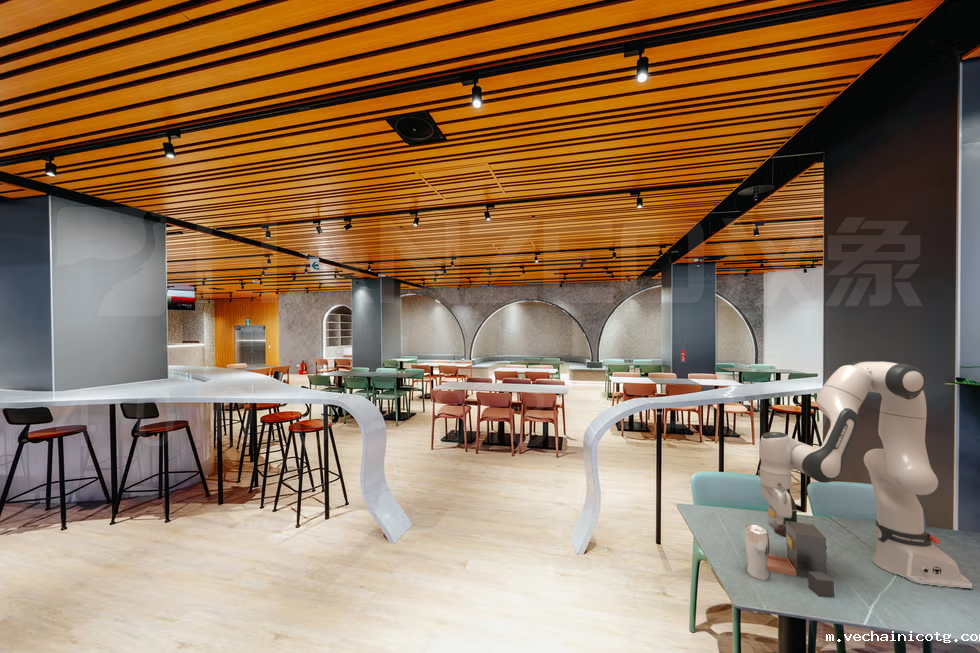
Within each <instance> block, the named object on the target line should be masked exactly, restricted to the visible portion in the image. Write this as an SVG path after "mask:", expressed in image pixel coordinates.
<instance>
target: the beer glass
mask: <svg viewBox="0 0 980 653" xmlns="http://www.w3.org/2000/svg"><path fill="white" fill-rule="evenodd" d="M769 536H770V535H769V530H768V529H767V528H765V527H763V526H760V525H756V524H746V525H745V526H744V536H743V537H744V546H745V548H744V549H745V551H746V552H745V553H746V557H747V567H746V572H747V574H748V575H749V576H750V577H752V578H754V579H757V580H760V581H767V580H769V578H770V575H769V571H768V570H767V562H768V556H769V555H770V545H771V544H770V537H769Z"/></svg>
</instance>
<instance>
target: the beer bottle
mask: <svg viewBox="0 0 980 653" xmlns="http://www.w3.org/2000/svg"><path fill="white" fill-rule="evenodd" d="M790 489H791V488H790ZM790 489H787V492H788V493H789V495H790V498H791V506H792V517H791V518H785V517H784V529H783V530H779V529H775V528H773V529H774V532H775V534H777V535H779V536H781V537H783V538H786V521H792V522H798V517H797V515H798V514H797V512H798V511H797V504H796V502H795V499H794V498H793V496H792V495H791V490H790Z"/></svg>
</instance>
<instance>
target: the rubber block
mask: <svg viewBox="0 0 980 653" xmlns="http://www.w3.org/2000/svg"><path fill="white" fill-rule="evenodd" d="M807 579H808V580H807V581H808V582H807V584H808V589H810V590H811V591H812V592H813V594H815V595H816V596H818V597H820V598H821V597H822V598H833V599H834V598H835V581H834V580H833V579H832V578H831V577H830V576H828V574H827V575H826V574H824V573H823V572H810V571H808V578H807Z"/></svg>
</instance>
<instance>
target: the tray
mask: <svg viewBox="0 0 980 653" xmlns="http://www.w3.org/2000/svg"><path fill="white" fill-rule="evenodd" d="M767 570H768V572H770V573H771V572H772V573H778V574H782V575H788V576H794V577H797V575H796V570H795V568H794V567H793V565H792V563H791V562H790V560H789V559H788V558H787V557H784V556H778V555H772V554H769V556H768V562H767Z"/></svg>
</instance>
